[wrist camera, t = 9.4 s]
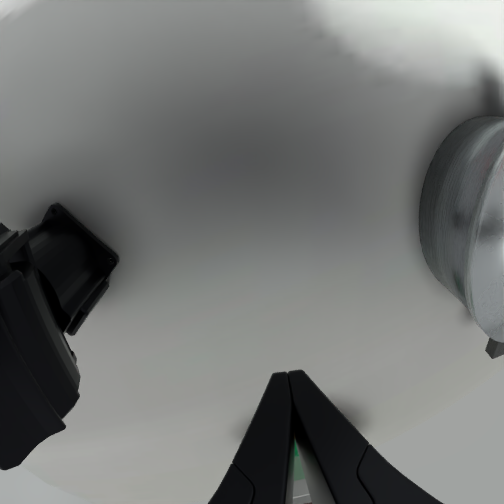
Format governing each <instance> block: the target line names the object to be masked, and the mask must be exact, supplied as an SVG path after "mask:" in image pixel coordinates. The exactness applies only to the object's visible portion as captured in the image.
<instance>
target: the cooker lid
mask: <svg viewBox="0 0 504 504" xmlns="http://www.w3.org/2000/svg"><path fill="white" fill-rule="evenodd" d="M464 288H465V296H466V301H467V305H468V308H469V311H470V313H471V316H472V317H473V319H474V321H475V322H476V324H477V325H478V326H479V327H480V328H481V329H482V330H483V331H484V332H485V333H486V334H487V335H488V336H489V337H490V338H492V339H493V340H495V341H498V342H502V343H504V142H503V143H502V145H501V146H500V147H499V149H498V151H497V152H496V154H495V156H494V158H493V159H492V161H491V163H490V165H489V168H488V170H487V172H486V174H485V176H484V179H483V182H482V184H481V187H480V190H479V192H478V195H477V199H476V202H475V206H474V209H473V212H472V217H471V221H470V225H469V230H468V235H467V242H466V248H465V259H464Z"/></svg>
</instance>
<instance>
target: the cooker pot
mask: <svg viewBox="0 0 504 504" xmlns="http://www.w3.org/2000/svg"><path fill="white" fill-rule="evenodd" d="M503 142H504V117H496V116H480V117H475V118H473V119H470V120H467V121H466V122H464V123H462V124H461V125H459V126H458V127H457V128H456V129H455V130H453V131H452V132H451V133H450V134H449V136H448V137H447V138H446V139H445V140H444V141H443V143H442V145H441V146H440V148H439V149H438V151H437V152H436V154H435V156H434V158H433V160H432V162H431V165H430V167H429V170H428V172H427V175H426V178H425V182H424V186H423V189H422V195H421V201H420V211H419V232H420V241H421V245H422V250H423V254H424V256H425V259H426V262H427V264H428V266H429V268H430V270H431V272H432V273H433V274H434V276H435V277H436V278H437V279H438V280H439V281H440V282H441V283H442V284H443V285H444V286H445V287H446V288H447V289H448V290H449V291H450V292H452V293H453V294H454V295H455V296H456V297H457V298H458V299H459V300H460V301H461V302H462V303H463V304H464V305H465V306H466V307H467V308H468V305H467V301H466V296H465V288H464V259H465V248H466V242H467V235H468V230H469V225H470V221H471V217H472V212H473V209H474V206H475V202H476V199H477V195H478V192H479V190H480V187H481V184H482V182H483V179H484V176H485V174H486V172H487V170H488V168H489V165H490V163H491V161H492V159H493V158H494V156H495V154H496V152H497V151H498V149H499V147H500V146H501V145H502V143H503ZM468 309H469V308H468ZM485 351H486V352H487V353H488V354H489V356H490V357H491V358H492V359H494V358H496V357H499V356H501V355H503V354H504V343H502V342H498V341H495V340H493V339H492V338H489V341H488V344H487V347H486V350H485Z"/></svg>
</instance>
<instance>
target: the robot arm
mask: <svg viewBox="0 0 504 504" xmlns="http://www.w3.org/2000/svg"><path fill="white" fill-rule="evenodd" d="M54 208H55V209H56V210H57V213H55V211H54ZM109 258H111V259H113V261H114V262H113V263H112V262H110V260H109ZM118 262H119V258H118V256H117V255H116V254H115V253H114V252H113V251H111V250H110V249H109V248H108V247H107V246H106V245H104V244H103V243H102V242H101V241H100V240H99V239H98V238H96V237H95V236H94V235H93V234H92V233H91V232H90V231H88V230H87V229H86V228H85V227H84V226H83V225H82V224H81V223H79V222H78V221H77V220H76V219H75V218H74V217H73V216H72V215H71V214H70V213H68V212H67V211H66V210H65V209H64V208H63V207H62V206H61V205H60V204H58V203H55V204H53V205H51V206H50V207H49V209H48V211H47V213H46V215H45V217H44V219H43V221H42V223H40V224H39V225H37V226H35V227H34V228H32V229H30V230H29V231H27V230H21V231H17V230H16V231H11V230H9V229H8V228H7V227H5V226H4V225H3V224H2V223H0V469H1V470H8V469H11V468H13V467H16V466H18V465H20V464H21V463H22V462H23V460H24V459H25V458H26V457H27V456H28V455H29V453H30V452H31V451H32V450H33V449H34V448H35V447H36V446H37V445H38V444H39V443H41V442H42V441H43V440H45V439H46V438H48V437H49V436H51V435H53V434H55V433H58V432H60V431H62V430H64V429H65V428H66V425H65V424H64V422H63V421H62V419H63V418H64V417H65V416H66V415H67V414H68V413H69V412H70V411H71V410H72V408H73V407H74V406H75V404H76V402H77V400H78V399H79V397H80V394H79V392H78V388H79V382H80V374H79V370H78V367H77V365H76V361H77V358H76V356H75V354H74V352H73V351H71V349H70V347H69V345H68V343H67V341H66V338H65V336H64V334H65V333H66V332H67V333H68V334H69V335H70V336H73V335H75V334H76V332H77V331H78V329H79V328H80V327H81V325H82V324H83V322H84V321H85V320H86V318H87V317H88V315H89V314H90V313H91V311H92V310H93V308H94V307H95V306H96V304H97V303H98V301H99V300H100V298H101V297H102V296H103V294H104V293H105V291H106V290H107V289H108V287H109V283H108V282H107V281H106V279H107V278H108V277H109V275H110V274H111V272H112V271H113V270H114V268H115V267H116V265H117V264H118ZM294 436H295V437H294ZM295 442H296V446H297V450H298V454H299V457H300V461H301V465H302V468H303V472H304V476H305V479H306V483H307V487H308V490H309V494H310V497H311V501H312V504H443V503H442V502H440V501H438V500H437V499H435V498H434V497H433V496H431V495H430V494H428V493H427V492H426V491H424V490H423V489H422V488H420V487H419V486H417V485H416V484H415V483H413V482H412V481H411V480H409V479H408V478H407V477H405V476H404V475H403V474H402V473H400V472H399V471H398V470H397V469H396V468H394V467H393V466H392V465H391V464H390V463H389V462H387V460H386V459H384V457H382V456H381V455H380V454H379V453H378V452H377V451H376V449H375V448H374V447H373V446H372V445H371V444H369V442H368V441H367V440H366V439H365V438H364V437H363V436H362V435H361V434H360V433H359V432H358V430H357V429H356V428H355V427H354V426H353V425H352V424H351V423H350V422H349V421H348V420H347V419H346V417H345V416H344V415H343V414H342V413H341V412H340V411H339V410H338V409H337V408H336V407H335V405H334V404H333V403H332V402H331V401H330V400H329V399H328V398H327V397H326V395H325V394H324V393H323V392H322V391H321V390H320V389H319V388H318V387H317V385H316V384H315V383H314V382H313V381H312V380H311V379H310V378H309V376H308V375H307V374H306V373H305V372H304V371H303V370H293V371H289V372H288V373H287V372H277V373H273V374H272V376H271V378H270V380H269V383H268V385H267V387H266V390H265V392H264V394H263V396H262V399H261V401H260V403H259V405H258V408H257V410H256V412H255V414H254V416H253V419H252V421H251V423H250V425H249V427H248V429H247V432H246V434H245V436H244V438H243V440H242V442H241V444H240V446H239V449H238V451H237V453H236V455H235V457H234V459H233V461H232V463H233V464H231V465H230V467H229V469H228V471H227V473H226V475H225V477H224V478H223V480H222V482H221V484H220V486H219V487H218V489H217V491H216V492H215V494H214V495H213V497H212V498H211V500H210V501H209V502H208V504H293V489H294V461H295Z"/></svg>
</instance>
